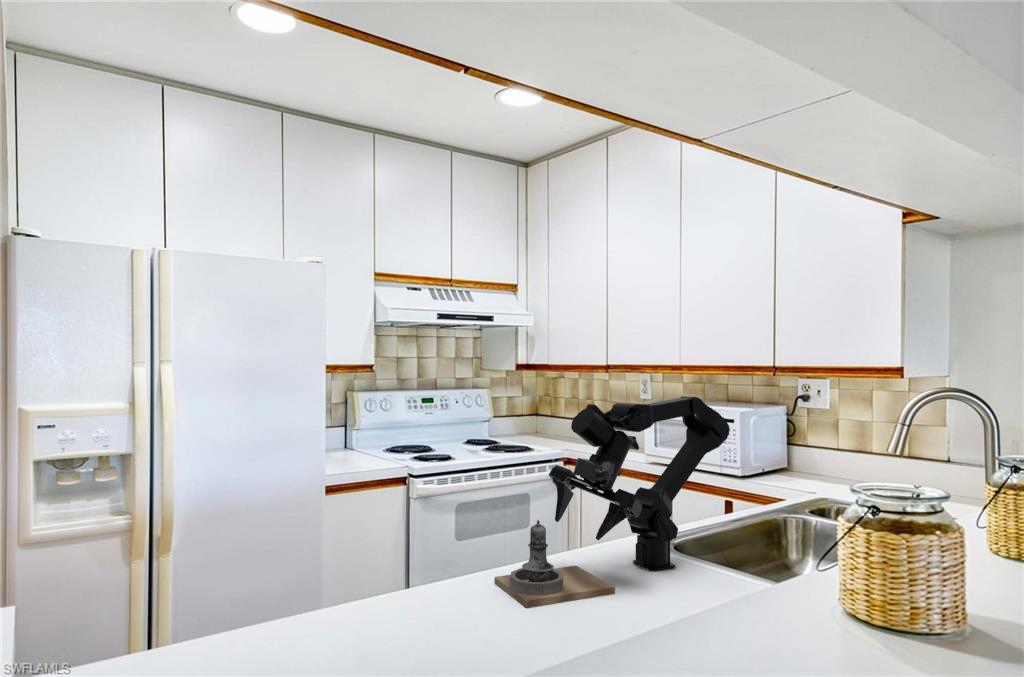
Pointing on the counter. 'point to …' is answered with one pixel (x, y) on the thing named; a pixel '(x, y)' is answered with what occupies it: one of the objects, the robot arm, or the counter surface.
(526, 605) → the board
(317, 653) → the counter surface
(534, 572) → the salt shaker
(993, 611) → the counter surface
